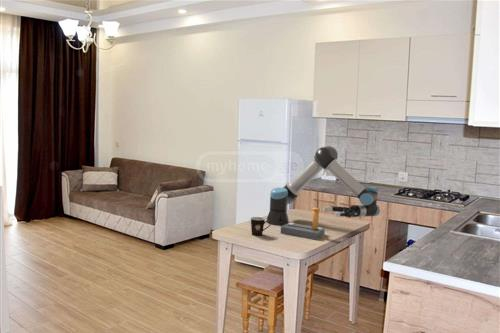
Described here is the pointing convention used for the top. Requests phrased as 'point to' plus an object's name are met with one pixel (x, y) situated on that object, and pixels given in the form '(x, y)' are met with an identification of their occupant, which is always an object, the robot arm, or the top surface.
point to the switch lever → (315, 218)
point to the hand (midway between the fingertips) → (329, 211)
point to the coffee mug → (257, 225)
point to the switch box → (302, 231)
